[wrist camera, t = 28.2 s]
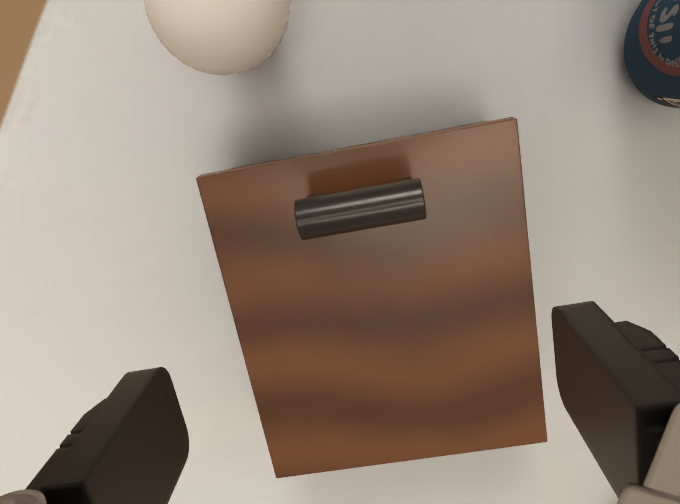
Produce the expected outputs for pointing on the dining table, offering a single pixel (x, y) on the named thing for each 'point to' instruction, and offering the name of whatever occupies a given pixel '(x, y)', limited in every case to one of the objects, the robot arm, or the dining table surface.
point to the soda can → (655, 51)
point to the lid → (384, 298)
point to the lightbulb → (219, 31)
